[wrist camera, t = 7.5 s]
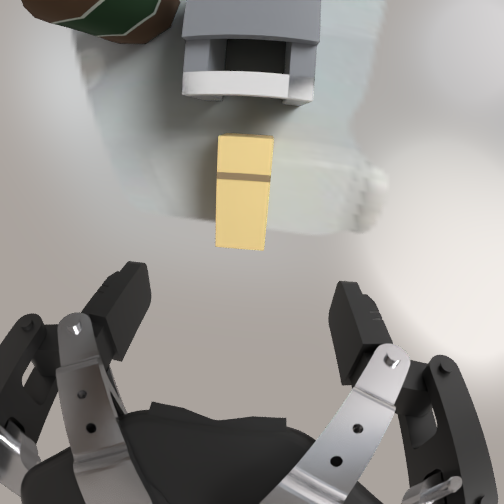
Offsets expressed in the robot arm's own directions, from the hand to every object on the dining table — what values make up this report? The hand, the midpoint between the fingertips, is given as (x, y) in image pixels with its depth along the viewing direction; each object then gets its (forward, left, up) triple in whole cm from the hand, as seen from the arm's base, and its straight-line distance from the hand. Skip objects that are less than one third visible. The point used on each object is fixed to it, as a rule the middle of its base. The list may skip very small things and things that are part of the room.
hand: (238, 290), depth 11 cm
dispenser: (-14, -1, -16) cm, 21 cm away
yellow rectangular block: (-1, -1, -16) cm, 16 cm away
